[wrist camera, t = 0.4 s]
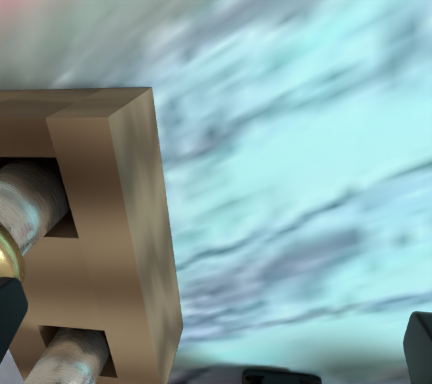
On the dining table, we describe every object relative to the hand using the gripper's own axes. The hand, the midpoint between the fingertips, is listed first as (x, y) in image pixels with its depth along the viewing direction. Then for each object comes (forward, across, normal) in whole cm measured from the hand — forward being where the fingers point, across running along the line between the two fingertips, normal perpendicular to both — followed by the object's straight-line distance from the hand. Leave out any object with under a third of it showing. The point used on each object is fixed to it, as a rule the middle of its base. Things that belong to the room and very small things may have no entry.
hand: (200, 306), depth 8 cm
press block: (+14, +10, +7) cm, 19 cm away
